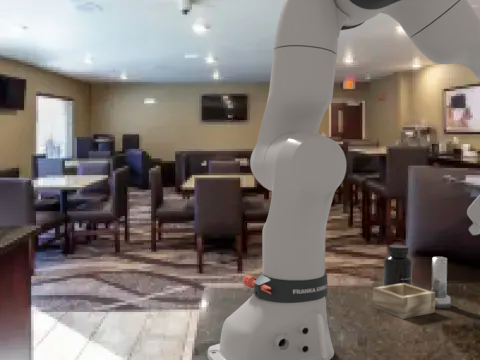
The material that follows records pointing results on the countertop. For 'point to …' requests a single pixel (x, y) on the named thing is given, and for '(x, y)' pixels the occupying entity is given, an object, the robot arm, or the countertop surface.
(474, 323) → the countertop surface
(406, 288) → the open wooden box
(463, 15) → the robot arm
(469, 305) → the countertop surface
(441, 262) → the metal coffee tamper
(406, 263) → the supplement bottle
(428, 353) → the countertop surface
